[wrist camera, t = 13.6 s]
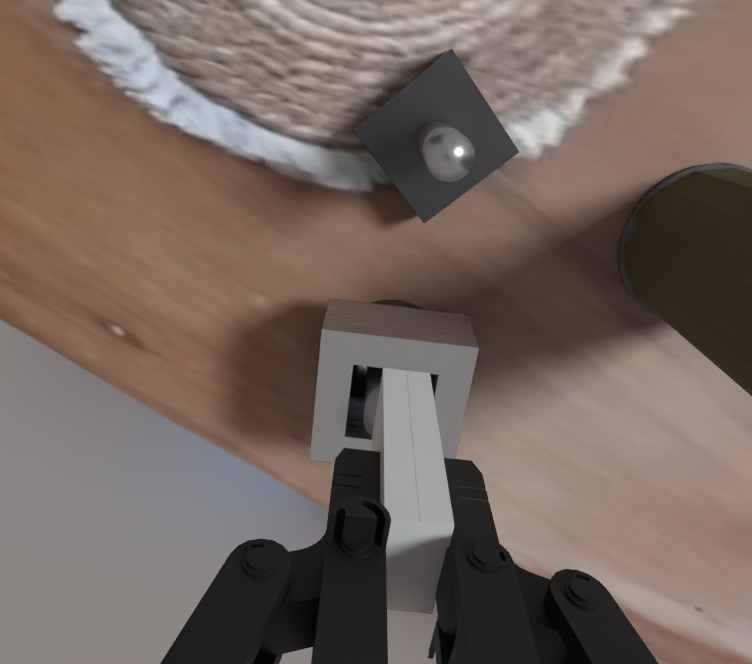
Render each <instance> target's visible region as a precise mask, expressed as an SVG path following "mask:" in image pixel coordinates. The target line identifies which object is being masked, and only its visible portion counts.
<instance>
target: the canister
mask: <svg viewBox="0 0 752 664" xmlns="http://www.w3.org/2000/svg"><path fill="white" fill-rule="evenodd" d="M619 261H620V272H621V277H622V279H623V281H624V283H625V286H626V288H627V290H628V292H629V293H630V294H631V295H632V297H633V298H634V299H635V300H636V301H637V302H638V303H639V304H640V305H641V306H643V307H644V308H645V309H647V310H648V311H650V312H652V313H654V314H657V315H658V316H660V317H661V318H662V319H663V320H664V321H665V322H667V323H668V324H669V325H670V326H671V327H672V328H674V329H675V330H676V331H677V332H678V333H679V334H680V335H682V336H683V337H684V338H685V339H686V340H687V341H689V342H690V343H691V344H692V345H693V346H694V347H696V348H697V349H698V350H699V351H700V352H701V353H702V354H704V355H705V356H706V357H707V358H708V359H709V360H711V361H712V362H713V363H714V364H715V365H716V366H718V367H719V368H720V369H721V370H722V371H723V372H724V373H726V374H727V375H728V376H729V377H730V378H731V379H733V380H734V381H735V382H736V383H737V384H738V385H740V386H741V387H742V388H743V389H744V390H745V391H746V392H748V393H749V394H750V395H751V396H752V169H749V168H746V167H743V166H740V165H735V164H730V163H713V164H706V165H699V166H693V167H691V168H688V169H686V170H683V171H681V172H678V173H676V174H674V175H672V176H671V177H669V178H667V179H666V180H664V181H663V182H662V183H660V184H659V185H658V186H657V187H656V188H654V189H653V190H652V191H651V192H650V193H649V194H648V195H647V196H646V197H645V198H644V199H643V200H642V201H640V202H639V204H638V205H637V207H636V209H635V211H634V213H633V214H632V216H631V218H630V220H629V222H628V223H627V225H626V227H625V230H624V232H623V235H622V238H621V243H620V248H619Z"/></svg>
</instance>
